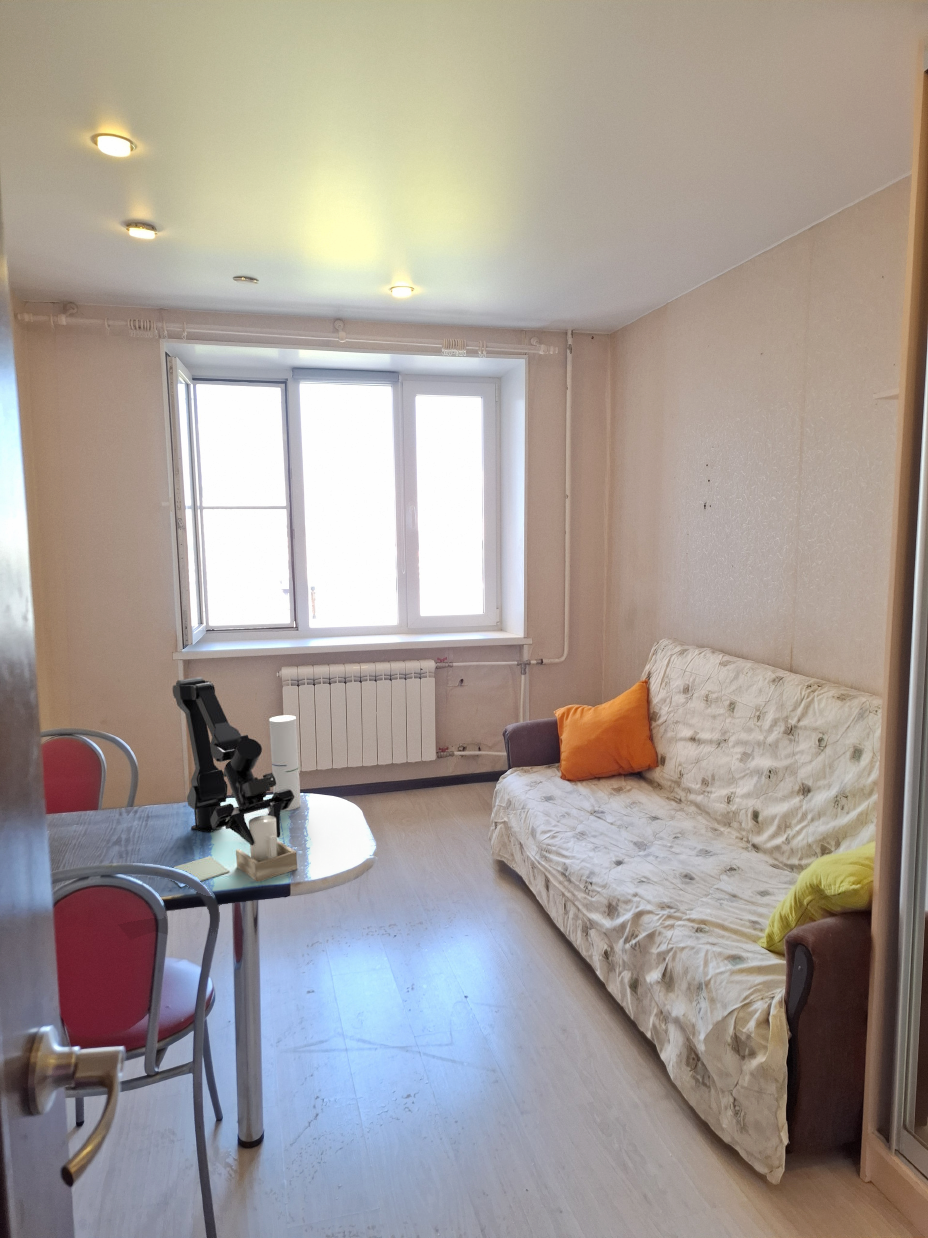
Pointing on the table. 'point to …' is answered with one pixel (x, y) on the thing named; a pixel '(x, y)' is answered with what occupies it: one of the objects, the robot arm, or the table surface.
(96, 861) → the table surface
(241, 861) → the frame
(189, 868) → the sage mat
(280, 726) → the cylindrical container
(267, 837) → the rounded top cylinder
